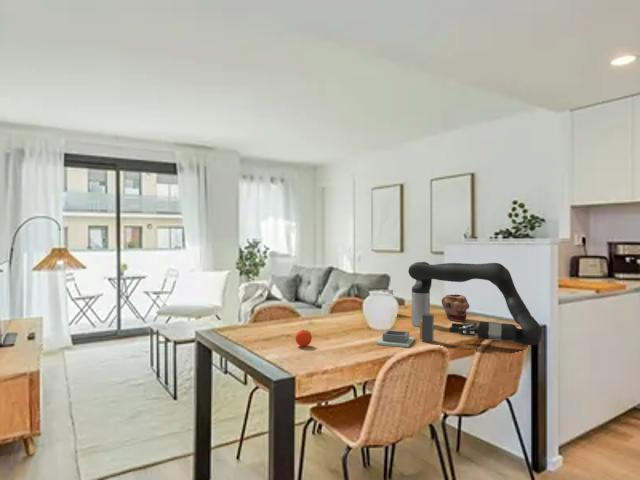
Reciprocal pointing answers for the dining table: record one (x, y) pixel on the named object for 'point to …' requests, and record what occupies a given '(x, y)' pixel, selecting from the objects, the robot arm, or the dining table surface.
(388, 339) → the dock
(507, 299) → the robot arm
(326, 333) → the dining table surface
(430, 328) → the dark grey block
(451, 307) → the decorative planter
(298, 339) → the red rounded piece
